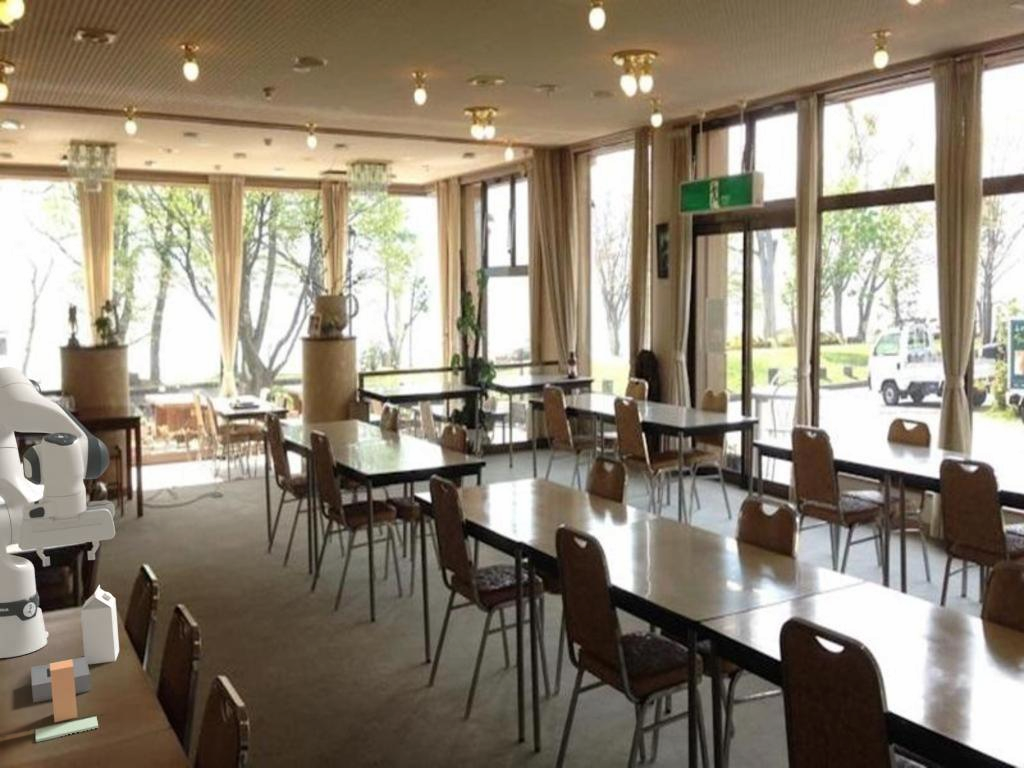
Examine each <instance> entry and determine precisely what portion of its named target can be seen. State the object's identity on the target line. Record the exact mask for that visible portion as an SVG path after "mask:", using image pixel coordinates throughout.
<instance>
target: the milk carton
mask: <svg viewBox="0 0 1024 768" xmlns="http://www.w3.org/2000/svg"><path fill="white" fill-rule="evenodd" d="M116 601H117V600H116V597H114V596H113V595H112V593H110V592H108V591H105V590H103V589H102V588H101V585H100V584H98V586H97V588H96V590H95V591H94V593H93V594H92V595H91V596H90V597H89V598H88V599H87V600H86V601H84V602H85V603H84V604H83V605H82V607H81V610H80V618H81V628H82V630H81V631H82V642H83V654H84V656H83V657H86V658H87V663H88V665H94V664H102V663H111V662H116V661H117V659H118V655H119V653H120V643H119V632H118V630H119V629H118V617H117V615H118V614H117V604H116V603H117V602H116Z"/></svg>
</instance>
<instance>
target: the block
mask: <svg viewBox="0 0 1024 768" xmlns="http://www.w3.org/2000/svg"><path fill="white" fill-rule="evenodd" d="M72 659H73V658H72ZM72 659H67V660H66V659H65V660H60V661H56V662H51V663H49V664H50V674H51V686H52V699H51V700H52V706H53V708H52V709H53V718H54V719H53V721H54V723H55V724H57V723H60V722H66V721H69V720H75V719H78V709H77V696H76V695H77V694H76V693H75V681H74V668H73V661H72Z"/></svg>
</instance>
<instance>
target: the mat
mask: <svg viewBox="0 0 1024 768" xmlns="http://www.w3.org/2000/svg"><path fill="white" fill-rule="evenodd" d="M74 719H75V720H74ZM74 719H69V720H65V721H66V722H65V721H60V722H56V723H57V724H56V723H52V724H49V725H44V726H39V727H35V729H34V730H35V731H34V732H35V742H36V743H39V742H43V741H49V740H52V739H57V738H62V737H66V736H69V735H68V734H70V735H73V734H72V733H75V734H78V733H77V732H79V733H83V731H84V732H88V731H91V729H92V730H95V728H97V729H99V723H98V722H99V721H98V717H97V714H93V715H89V716H84V717H79V718H74ZM87 730H88V731H87ZM65 735H66V736H65ZM61 736H62V737H61Z"/></svg>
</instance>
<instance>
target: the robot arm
mask: <svg viewBox="0 0 1024 768" xmlns="http://www.w3.org/2000/svg"><path fill="white" fill-rule="evenodd" d="M15 432H19V433H43V434H44V433H45V434H48V435H46V436H44V437H43V438H42V439H41V443H39V444H36V445H33V446H30V447H29V448H28V449H27V450H26V451H25V453H24V454H23V456H22V464H21V459H20V453H19V449H18V443H17V439H16V436H15ZM109 465H110V453H109V450H108V447H107V446H106V444H105V443H104V442H103V441H102V440H101V439H100V438H98V437H96V436H94V435H93V434H92V433H91V432H90V431H89V430H88V429H87V428H86V427H85V426H84V425H83V424H82V423H81V422H80V421H79V420H78V419H77V417H75V416H74V415H73V414H72V413H71V412H70V410H68V409H67V408H66V407H65V406H63V405H61V404H59V403H56V402H54V401H52V400H50V399H48V398H46V397H45V396H43V393H42V389H41V386H40V385H39V384H38V382H37V381H35V380H34V379H30V378H28V377H27V376H26V375H25V374H24V373H23V372H22V371H20V370H19V369H17V368H16V367H15V368H14V367H12V366H11V367H10V366H4V367H0V497H1V498H2V499H3V501H4V503H0V659H4V658H5V659H6V658H14V657H19V656H23V655H26V654H30V653H33V652H35V651H38V650H40V649H42V648H43V647H45V646H46V645H47V644H48V639H47V638H48V637H49V636H50V635H49V631H47V630H46V627H45V621H44V617H43V612H42V609H41V608H40V607H39V606H40V596H39V593H38V591H37V584H36V577H35V576H36V575H35V567H34V564H33V563H32V561H30V560H29V559H27V558H25V557H21V556H18V555H14V554H10V553H8V551H7V548H8V546H9V547H10V546H12V545H16V544H17V545H18V546H17V547H18V548H19V549H20V550H22V551H31V550H36V554H37V555H38V557H39V558H40V559H41V560H42V567H49V566H51V559H50V556H45V554H44V549H45V548H53V547H59V546H69V545H76V544H81V543H82V544H83V543H92V548H91V550H87V561H94V560H96V552H97V550H98V548H99V547H100V542H101V541H106V540H107V541H108V540H112V539H113V538H114V537H116V536H115V535H116V530H115V529H116V528H115V523H114V517H115V514H116V507H115V504H114V502H112V501H109V500H108V499H101V500H92V501H87V492H86V491H87V490H86V485H85V483H84V480H93V479H99V478H100V477H101V476H102V475H103V474H104V472H105V471H106V470H107V469H108V467H109ZM29 482H30V483H32V484H34V485H37V486H43V492H42V495H41V494H39V493H38V492H37V491H36V490H35V489H33V487H31V485H30V484H29Z"/></svg>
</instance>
